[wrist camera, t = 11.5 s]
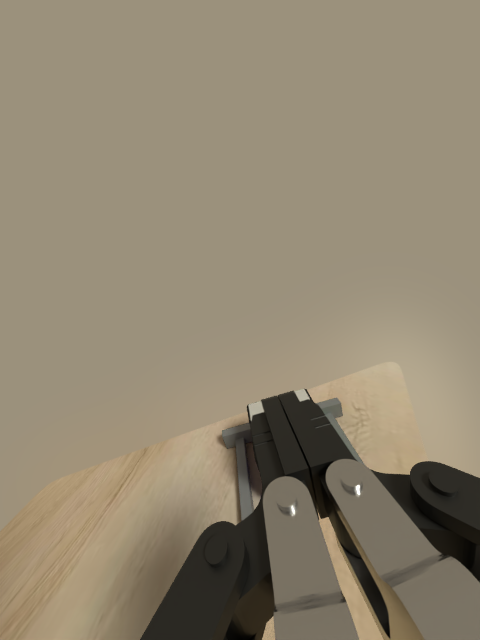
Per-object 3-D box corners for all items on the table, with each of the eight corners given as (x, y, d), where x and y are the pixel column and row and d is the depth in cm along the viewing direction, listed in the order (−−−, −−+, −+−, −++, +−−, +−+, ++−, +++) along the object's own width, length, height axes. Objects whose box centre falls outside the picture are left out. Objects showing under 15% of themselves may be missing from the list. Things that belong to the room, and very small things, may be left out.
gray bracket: (230, 535, 30) (223, 521, 29) (226, 441, 43) (222, 430, 42) (393, 489, 29) (393, 474, 28) (338, 409, 43) (336, 397, 42)
